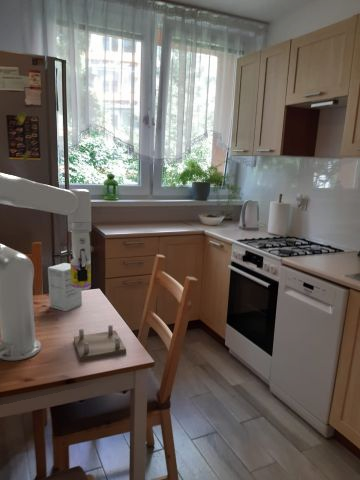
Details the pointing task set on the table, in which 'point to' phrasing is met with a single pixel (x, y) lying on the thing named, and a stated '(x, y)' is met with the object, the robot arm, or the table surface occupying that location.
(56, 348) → the table surface
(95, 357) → the board
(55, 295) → the supplement box
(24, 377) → the table surface
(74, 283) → the supplement bottle
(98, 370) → the table surface
